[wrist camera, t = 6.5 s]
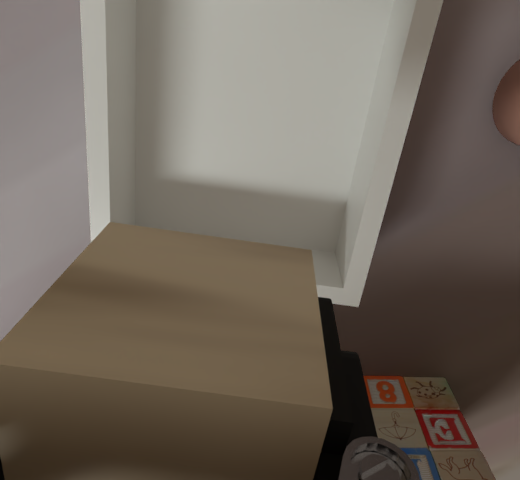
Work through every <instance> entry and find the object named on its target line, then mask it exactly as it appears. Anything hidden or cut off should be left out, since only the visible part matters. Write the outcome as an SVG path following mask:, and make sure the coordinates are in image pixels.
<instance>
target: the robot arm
mask: <svg viewBox="0 0 520 480" xmlns="http://www.w3.org/2000/svg"><path fill="white" fill-rule="evenodd" d="M318 302H319V309H320V317H321V324H322V331H323V339H324V346H325V354H326V361H327V369H328V376H329V384H330V391H331V399H332V406H333V410H332V414H331V417H330V421H329V425H328V428H327V432H326V435H325V439H324V442H323V446H322V449H321V453H320V456H319V460H318V464H317V467H316V471H315V474H314V478H313V480H420V478H419V473H418V471H417V469H416V467H415V465H414V463H413V461H412V460H411V459H410V458H409V457H408V455H407V454H406V453H405V452H404V451H403V450H401V449H400V448H399V447H397V446H396V445H395V444H393V443H391V442H389V441H387V440H385V439H382V438H378V436H377V432H376V428H375V424H374V419H373V415H372V411H371V406H370V402H369V398H368V394H367V389H366V385H365V381H364V376H363V372H362V368H361V364H360V359H359V356H358V354H357V353H355V352H348V351H341V349H340V344H339V338H338V333H337V327H336V322H335V316H334V311H333V305H332V300H331V299H330V298H323V297H318ZM0 480H5V478H4V473H3V468H2V463H1V458H0Z"/></svg>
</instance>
